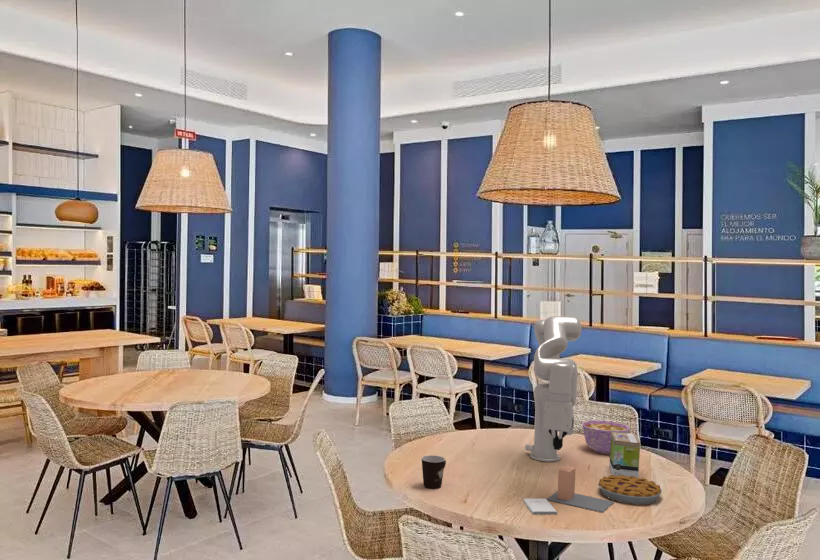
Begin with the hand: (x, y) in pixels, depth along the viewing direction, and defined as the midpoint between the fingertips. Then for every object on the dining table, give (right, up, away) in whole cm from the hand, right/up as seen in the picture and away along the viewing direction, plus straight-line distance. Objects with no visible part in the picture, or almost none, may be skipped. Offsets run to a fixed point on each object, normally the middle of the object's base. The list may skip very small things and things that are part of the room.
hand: (557, 448), depth 243 cm
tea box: (+33, -17, +30) cm, 48 cm away
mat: (+7, -17, -4) cm, 19 cm away
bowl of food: (+34, -17, +61) cm, 72 cm away
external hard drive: (-9, -18, -12) cm, 23 cm away
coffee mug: (-43, -15, +7) cm, 46 cm away
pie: (+27, -18, +4) cm, 32 cm away
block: (+3, -17, -2) cm, 17 cm away
